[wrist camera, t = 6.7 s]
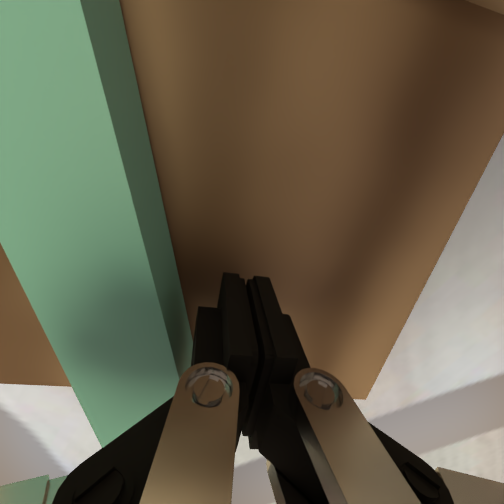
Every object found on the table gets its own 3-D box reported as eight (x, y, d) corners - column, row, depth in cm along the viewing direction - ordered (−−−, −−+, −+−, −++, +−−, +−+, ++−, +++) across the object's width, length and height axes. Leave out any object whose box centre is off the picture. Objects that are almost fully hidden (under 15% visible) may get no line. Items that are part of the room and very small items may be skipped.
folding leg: (-185, -469, 4) (-820, -1411, 2) (20, -456, 5) (-253, -1265, 2) (133, 392, 13) (111, 466, 10) (201, 381, 13) (198, 451, 10)
